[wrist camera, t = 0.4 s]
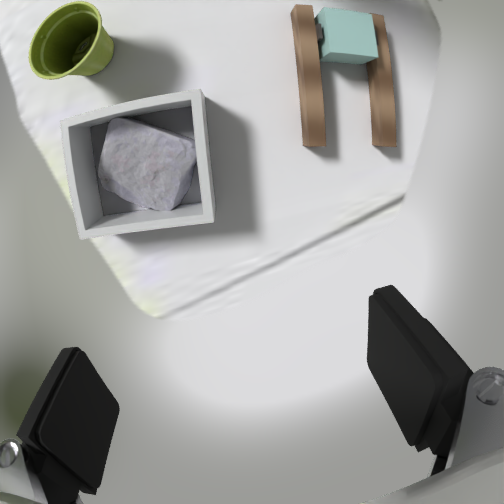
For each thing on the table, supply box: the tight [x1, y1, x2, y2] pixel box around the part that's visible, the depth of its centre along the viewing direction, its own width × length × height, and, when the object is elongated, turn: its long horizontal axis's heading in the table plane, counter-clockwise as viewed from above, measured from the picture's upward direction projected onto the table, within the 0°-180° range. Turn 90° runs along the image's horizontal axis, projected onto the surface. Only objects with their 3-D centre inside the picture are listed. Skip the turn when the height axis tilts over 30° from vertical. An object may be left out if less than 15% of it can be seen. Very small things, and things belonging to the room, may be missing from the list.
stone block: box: [98, 117, 197, 211], centre depth 33 cm, size 12×5×10 cm
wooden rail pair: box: [291, 4, 396, 147], centre depth 30 cm, size 18×12×4 cm, turn 5°
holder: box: [60, 89, 216, 239], centre depth 31 cm, size 14×16×6 cm
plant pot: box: [29, 1, 114, 80], centre depth 24 cm, size 9×9×9 cm
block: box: [314, 7, 378, 65], centre depth 28 cm, size 6×6×5 cm
